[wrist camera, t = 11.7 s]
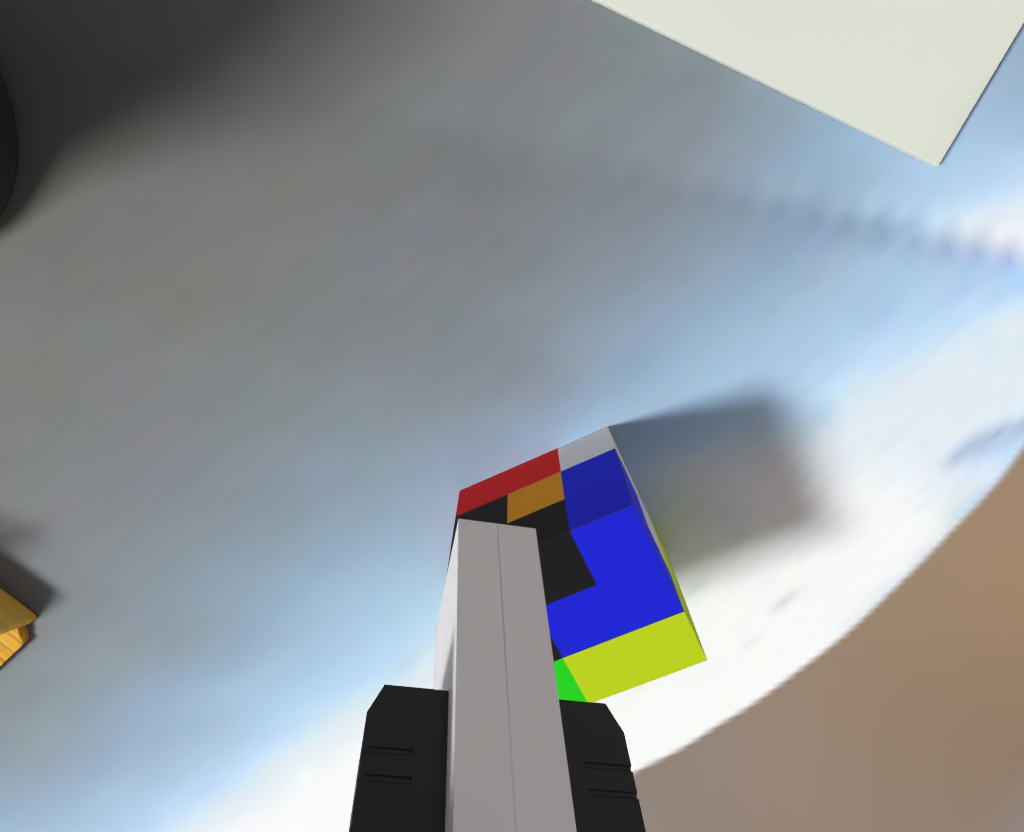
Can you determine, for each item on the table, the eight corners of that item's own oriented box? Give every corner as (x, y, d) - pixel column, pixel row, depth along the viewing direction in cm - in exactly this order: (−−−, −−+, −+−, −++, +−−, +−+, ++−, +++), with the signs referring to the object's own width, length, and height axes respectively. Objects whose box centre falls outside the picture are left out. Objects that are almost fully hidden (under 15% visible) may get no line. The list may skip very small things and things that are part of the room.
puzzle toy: (607, 426, 43) (633, 504, 34) (667, 555, 46) (707, 660, 37) (459, 490, 44) (445, 582, 35) (527, 611, 48) (531, 725, 38)
